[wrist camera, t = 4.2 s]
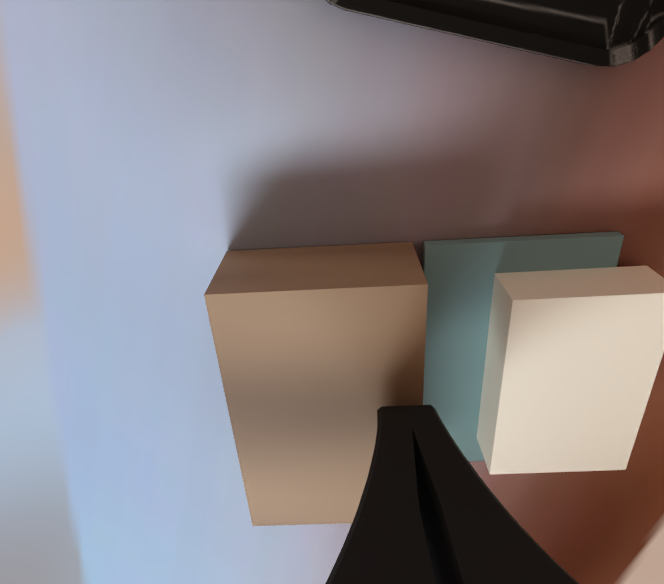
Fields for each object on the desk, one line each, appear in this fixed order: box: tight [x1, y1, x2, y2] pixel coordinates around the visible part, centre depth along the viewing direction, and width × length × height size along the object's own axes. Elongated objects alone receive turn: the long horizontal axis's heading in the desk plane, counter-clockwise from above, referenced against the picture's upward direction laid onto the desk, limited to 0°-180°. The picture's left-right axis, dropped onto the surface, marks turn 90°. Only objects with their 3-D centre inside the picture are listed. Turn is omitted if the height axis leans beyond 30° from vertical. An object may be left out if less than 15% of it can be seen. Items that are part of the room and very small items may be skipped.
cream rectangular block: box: [477, 266, 664, 474], centre depth 13 cm, size 6×4×2 cm, turn 4°
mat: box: [422, 231, 624, 461], centre depth 14 cm, size 8×5×1 cm, turn 3°
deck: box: [204, 242, 428, 526], centre depth 14 cm, size 8×5×2 cm, turn 3°
